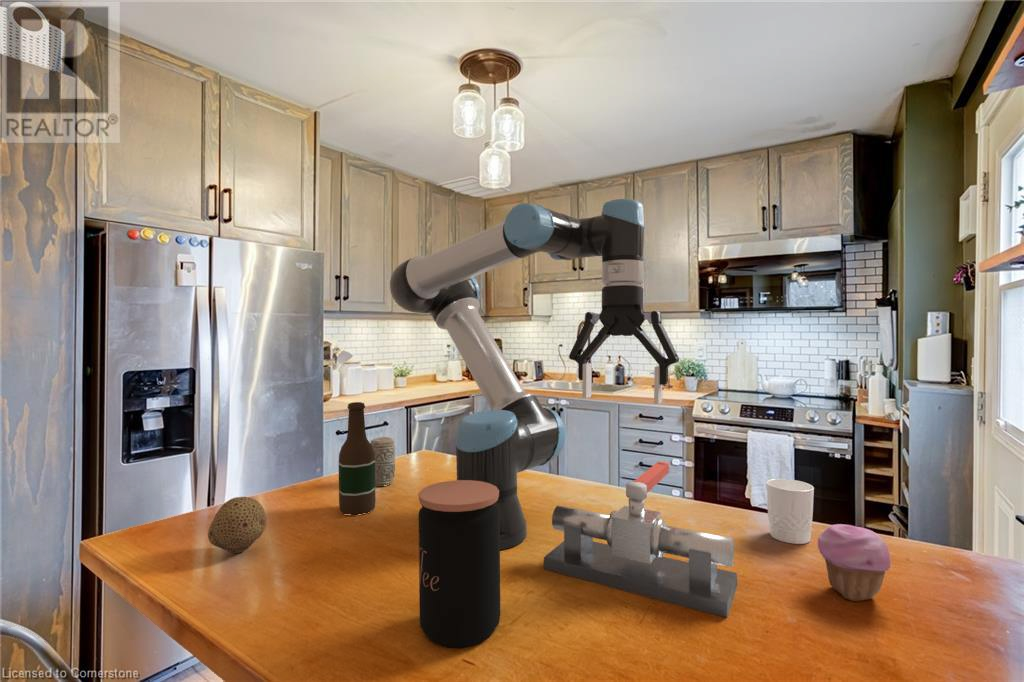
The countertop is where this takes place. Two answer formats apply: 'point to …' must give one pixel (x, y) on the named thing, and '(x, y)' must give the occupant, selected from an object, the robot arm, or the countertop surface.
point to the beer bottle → (356, 466)
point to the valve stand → (645, 556)
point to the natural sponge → (237, 524)
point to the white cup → (790, 510)
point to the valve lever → (647, 481)
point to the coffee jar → (459, 562)
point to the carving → (384, 460)
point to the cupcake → (854, 560)
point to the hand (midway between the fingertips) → (621, 400)
